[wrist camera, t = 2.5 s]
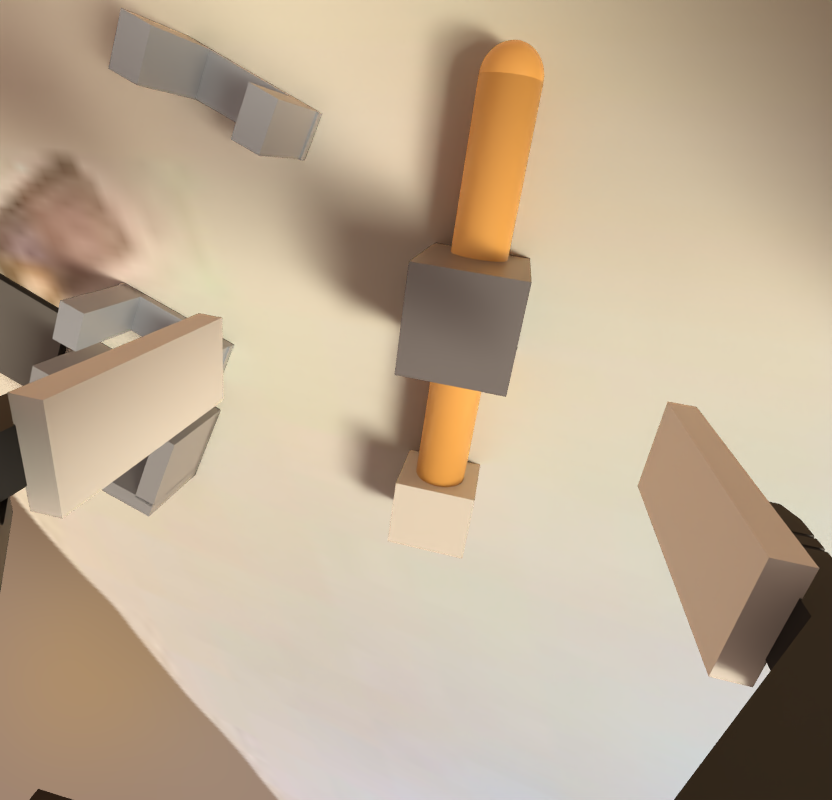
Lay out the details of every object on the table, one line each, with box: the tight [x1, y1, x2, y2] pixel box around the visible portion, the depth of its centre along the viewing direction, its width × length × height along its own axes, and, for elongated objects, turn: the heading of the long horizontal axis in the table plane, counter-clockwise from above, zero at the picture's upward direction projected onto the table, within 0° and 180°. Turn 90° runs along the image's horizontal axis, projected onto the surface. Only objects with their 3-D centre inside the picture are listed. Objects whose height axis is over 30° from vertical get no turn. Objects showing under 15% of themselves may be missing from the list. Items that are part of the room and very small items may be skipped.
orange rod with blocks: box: [388, 40, 544, 558], centre depth 26 cm, size 25×5×7 cm, turn 172°
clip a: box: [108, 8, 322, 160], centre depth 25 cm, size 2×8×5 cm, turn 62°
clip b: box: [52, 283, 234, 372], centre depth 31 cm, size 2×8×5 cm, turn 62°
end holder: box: [29, 342, 220, 516], centre depth 33 cm, size 6×9×5 cm, turn 62°
